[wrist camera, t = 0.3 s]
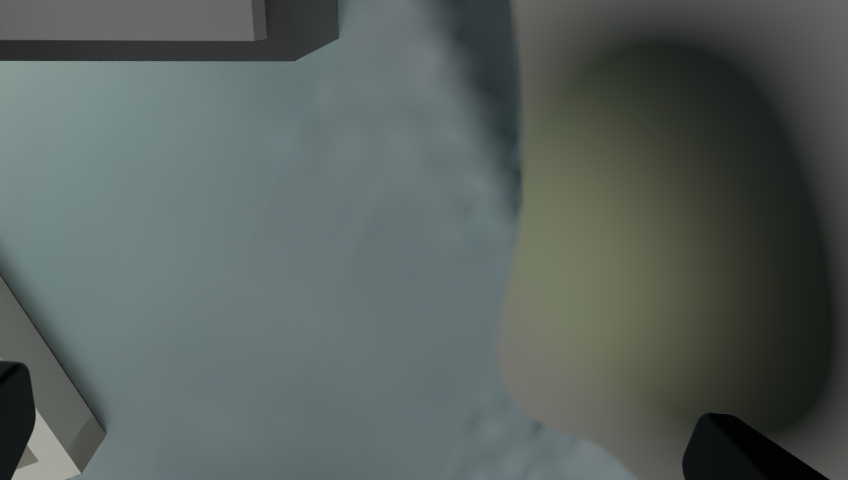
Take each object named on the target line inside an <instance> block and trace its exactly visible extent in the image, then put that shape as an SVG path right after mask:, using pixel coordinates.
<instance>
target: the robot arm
mask: <svg viewBox="0 0 848 480" xmlns="http://www.w3.org/2000/svg"><path fill="white" fill-rule="evenodd" d="M35 421H36V410H35V403H34V396H33V390H32V383H31V377H30V372H29V369H28V367H27V366H26V365H25V364H24V363H22V362H15V361H2V360H0V480H11V479H12V477H13V475H14V473H15V471H16V468H17V466H18V464H19V462H20V459H21V457H22V455H23V453H24V451H25V448H26V446H27V444H28V442H29V439H30V437H31V435H32V432H33V430H34V426H35ZM682 467H683V474H684V478H685V480H829V479H828V478H826V477H825V476H823V475H822V474H821V473H819V472H818V471H816V470H815V469H813V468H812V467H810V466H809V465H807V464H806V463H804V462H803V461H801V460H799V459H798V458H797V457H795V456H794V455H792V454H791V453H789V452H788V451H786V450H785V449H783V448H782V447H780V446H779V445H777V444H776V443H775V442H773V441H772V440H770V439H768V438H767V437H766V436H764V435H763V434H761V433H759V432H758V431H757V430H755V429H754V428H752V427H751V426H749V425H748V424H746V423H745V422H743V421H742V420H740V419H739V418H737V417H736V416H734V415H730V414H722V413H705V414H703V415H701V416H700V417H699V419H698V421H697V423H696V426H695V428H694V430H693V433H692V435H691V438H690V441H689V443H688V445H687V448H686V450H685V453H684V456H683V461H682Z"/></svg>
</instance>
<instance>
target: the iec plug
mask: <svg viewBox="0 0 848 480" xmlns="http://www.w3.org/2000/svg"><path fill="white" fill-rule="evenodd" d="M338 38H339V36H338V6H337V0H0V61H296V60H297V59H299V58H301V57H303V56H305V55H307V54H309V53H311V52H313V51H315V50H317V49H319V48H321V47H323V46H325V45H327V44H328V43H330V42H332V41H334V40H336V39H338Z"/></svg>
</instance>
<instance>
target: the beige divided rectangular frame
mask: <svg viewBox="0 0 848 480" xmlns="http://www.w3.org/2000/svg"><path fill="white" fill-rule="evenodd" d="M0 360H2V361H15V362H22V363H24V364H25V365H26V366H27V367H28V369H29V372H30V377H31V383H32V390H33V396H34V403H35V410H36V421H35V426H34V430H33V432H32V435H31V437H30V439H29V442H28V444H27V446H26V448H25V451H24V453H23V455H22V457H21V459H20V462H19V464H18V466H17V468H16V471H15V473H14V475H13V477H12V479H11V480H66V479H68V478H71V477H74V476H76V475H79V474H81V473H82V472H83V470H84V469H85V467H86V465H87V464H88V462H89V461H90V459H91V458H92V456H93V455H94V453H95V452H96V450H97V448H98V447H99V445H100V444H101V442H102V441H103V439H104V438H105V436H106V433H105V432H104V430H103V429H102V427H101V426H100V424H99V423H98V421H97V420H96V418H95V417H94V415H93V414H92V412H91V411H90V409H89V408H88V406H87V405H86V403H85V402H84V400H83V399H82V397H81V396H80V394H79V393H78V391H77V390H76V388H75V387H74V385H73V384H72V382H71V381H70V379H69V378H68V376H67V375H66V373H65V372H64V370H63V369H62V367H61V366H60V364H59V363H58V361H57V360H56V358H55V357H54V355H53V354H52V352H51V351H50V349H49V348H48V346H47V345H46V343H45V342H44V340H43V339H42V337H41V336H40V334H39V333H38V331H37V330H36V328H35V327H34V325H33V324H32V322H31V321H30V319H29V318H28V316H27V315H26V313H25V312H24V310H23V309H22V307H21V306H20V304H19V303H18V301H17V300H16V298H15V297H14V295H13V294H12V292H11V291H10V289H9V288H8V286H7V285H6V283H5V282H4V280H3V279H2V277H1V276H0Z"/></svg>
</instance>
